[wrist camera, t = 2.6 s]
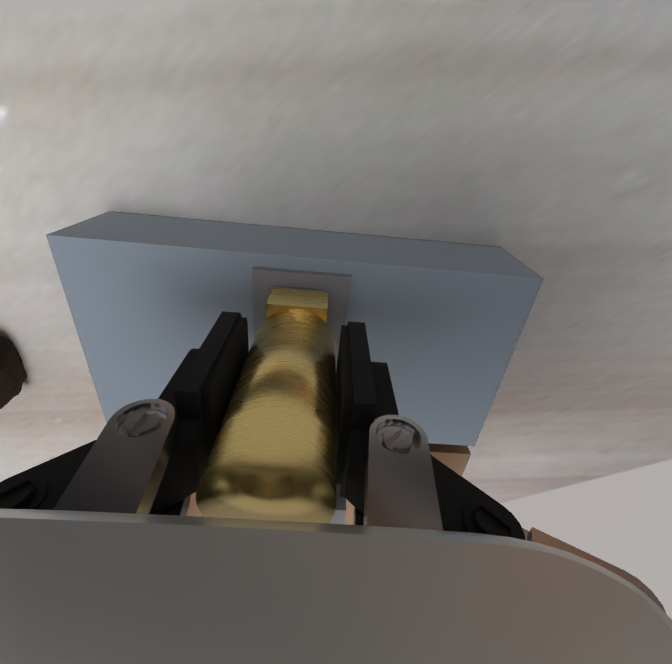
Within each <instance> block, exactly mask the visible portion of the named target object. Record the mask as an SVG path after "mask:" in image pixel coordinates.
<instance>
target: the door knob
mask: <svg viewBox="0 0 672 664" xmlns="http://www.w3.org/2000/svg"><path fill="white" fill-rule="evenodd" d="M327 309H328V292H326V291H314V290H302V289H290V288H278V287H273V288H272V291H271V293H270V296H269V298H268V301H267V304H266V317H267V318H266V319H265V320H264V321H263V322H262V323H261V324H260V326H259V328H258V330H257V332H256V335H255V338H254V340H253V343H252V345H251V348H250V351H249V353H248V356H247V358H246V361H245V364H244V366H243V369H242V372H241V374H240V377H239V379H238V382H237V385H236V387H235V390H234V392H233V395H232V398H231V400H230V403H229V405H228V408H227V411H226V413H225V416H224V418H223V421H222V424H221V426H220V429H219V431H218V434H217V437H216V439H215V442H214V444H213V447H212V450H211V452H210V455H209V457H208V460H207V463H206V465H205V468H204V470H203V473H202V476H201V478H200V481H199V483H198V486H197V489H196V503H197V506H198V508H199V510H200V512H201V514H202V515H203V516H204V517H215V518H235V519H254V520H273V521H292V522H311V523H329V522H330V521H331V519H332V518H333V516H334V514H335V510H336V342H335V337H334V334H333V332H332V330H331V328H330V327H329V325H328V324H327V323H326V320H327Z"/></svg>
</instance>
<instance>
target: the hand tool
mask: <svg viewBox="0 0 672 664" xmlns="http://www.w3.org/2000/svg"><path fill="white" fill-rule="evenodd" d="M26 377H27V375H26V372H25V370H24V368H23V365H22V360H21V357H20V355H19V353H18V351H17V349H16V348H15V347H14V345H13V344H12V343H11V341H10V340H9V339H7V338H5V337H3V336H0V409H1V408H3V407H4V406H5V405H6V404H7V403H8V402H9V401H10V400H11V399H12V398H13V397H14V396H16V395H18V394H19V393H20V391H21V389H22V383H23V382H24V380H25V379H26Z"/></svg>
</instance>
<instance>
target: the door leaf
mask: <svg viewBox="0 0 672 664" xmlns="http://www.w3.org/2000/svg"><path fill="white" fill-rule="evenodd" d="M46 236H47V239H48V242H49V245H50V248H51V252H52V255H53V258H54V261H55V264H56V267H57V270H58V273H59V276H60V279H61V283H62V286H63V289H64V292H65V295H66V298H67V301H68V304H69V307H70V311H71V314H72V317H73V320H74V323H75V326H76V329H77V332H78V335H79V339H80V342H81V345H82V348H83V351H84V354H85V357H86V360H87V363H88V367H89V370H90V373H91V376H92V379H93V382H94V385H95V388H96V391H97V394H98V398H99V401H100V404H101V407H102V410H103V413H104V416H105V419H106V422H108V421H109V419H110V418H111V417H112V416H113V415H114V413H115V412H117V411H118V410H119V409H121V408H122V407H124V406H126V405H128V404H130V403H132V402H136V401H139V400H143V399H158V398H159V396H160V395H161V393H162V392H163V390H164V389H165V387H166V386H167V384H168V383H169V381H170V379H171V378H172V376H173V375H174V373H175V372H176V370H177V369H178V367H179V366H180V364H181V363H182V361H183V360H184V358H185V357H186V355H187V354H188V352H189V351H190V350H191V349H193V348H195V349H199V348H200V347H201V345H202V343H203V342H204V340H205V339H206V337H207V335H208V334H209V332H210V330H211V329H212V327H213V326H214V324H215V322H216V321H217V319H218V317H219V316H220V314H221V313H222V311H226V312H238V313H241V315H242V317H246V318H247V321H248V344H249V351H250V348H251V345H252V343H253V340H254V338H255V335H256V332H257V330H258V328H259V326H260V324H261V323H262V322H263V321H264V320H265V319H266V318H267V317H266V304H267V301H268V298H269V296H270V293H271V291H272V288H273V287H278V288H290V289H302V290H314V291H326V292H328V309H327V320H326V323H327V324H328V325H329V327H330V328H331V330H332V332H333V334H334V337H335V342H336V367H337V359H338V350H339V341H340V332H341V325H347V324H348V321H352V322H364V323H365V326H366V332H367V339H368V345H369V352H370V358H371V362H384V363H387V365H388V369H389V373H390V378H391V382H392V387H393V391H394V396H395V400H396V405H397V409H398V414H399V416H403V417H406V418H409V419H411V420H413V421H414V422H416V423H417V424H418V425H419V426H421V428H422V429H423V430H424V432H425V433H426V436H427V439H428V443H432V444H448V445H464V446H474V445H475V443H476V441H477V438H478V436H479V433H480V431H481V428H482V426H483V424H484V421H485V419H486V416H487V414H488V411H489V409H490V407H491V404H492V402H493V399H494V397H495V394H496V392H497V390H498V387H499V385H500V382H501V380H502V377H503V375H504V373H505V370H506V368H507V365H508V363H509V360H510V358H511V356H512V353H513V351H514V348H515V346H516V343H517V341H518V339H519V336H520V334H521V331H522V329H523V326H524V324H525V322H526V319H527V317H528V314H529V312H530V309H531V307H532V305H533V302H534V300H535V297H536V295H537V292H538V290H539V288H540V285H541V283H542V280H543V278H542V277H541V276H539V275H538V274H536V273H535V272H534V271H532V270H531V269H529V268H528V267H527V266H525V265H524V264H523V263H521V262H520V261H518V260H517V259H516V258H514V257H513V256H511V255H510V254H509V253H507V252H506V251H504V250H503V249H502V248H500V247H492V246H481V245H470V244H459V243H448V242H437V241H427V240H416V239H405V238H394V237H383V236H372V235H361V234H350V233H339V232H328V231H317V230H306V229H295V228H284V227H274V226H263V225H252V224H241V223H230V222H219V221H208V220H197V219H186V218H175V217H164V216H153V215H142V214H131V213H121V212H107V213H104V214H101V215H99V216H96V217H93V218H91V219H88V220H85V221H82V222H80V223H77V224H74V225H72V226H69V227H66V228H63V229H61V230H58V231H55V232H53V233H50V234H47V235H46Z"/></svg>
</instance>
